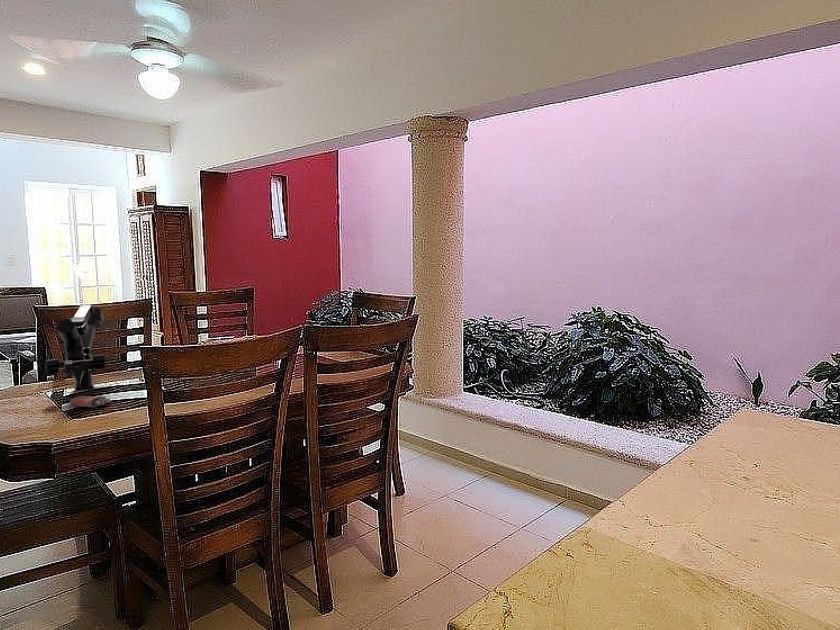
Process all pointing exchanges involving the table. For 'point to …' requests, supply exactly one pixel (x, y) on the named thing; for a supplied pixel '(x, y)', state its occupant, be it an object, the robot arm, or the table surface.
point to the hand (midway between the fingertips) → (78, 383)
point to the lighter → (88, 401)
